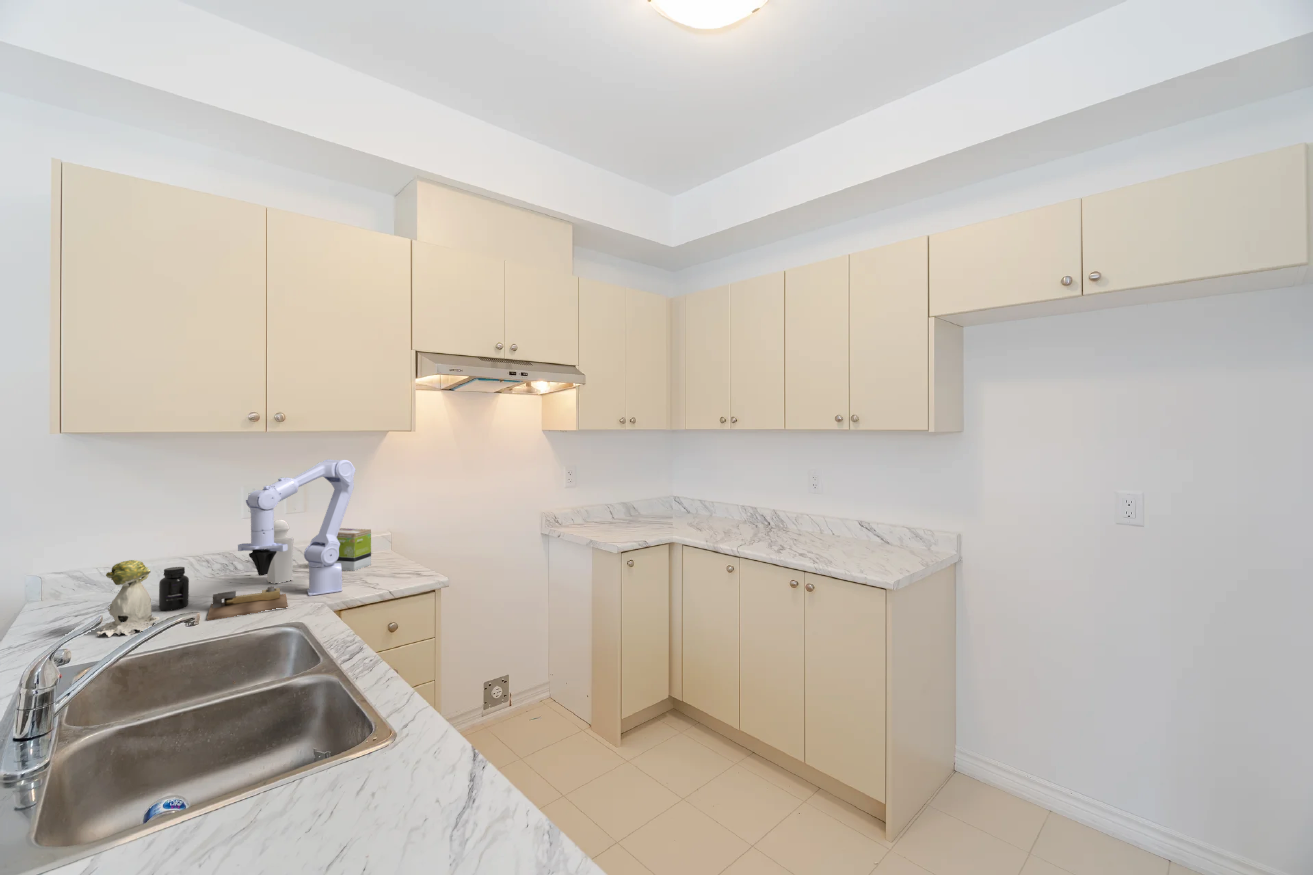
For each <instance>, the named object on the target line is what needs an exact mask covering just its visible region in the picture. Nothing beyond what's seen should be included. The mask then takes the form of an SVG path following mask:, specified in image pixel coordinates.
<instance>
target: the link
mask: <svg viewBox="0 0 1313 875" xmlns="http://www.w3.org/2000/svg"><path fill="white" fill-rule="evenodd" d="M280 594H281V587H277V588H276V587H274V591H270V592H268V589H262V590H261V592H256V593H248V594H243V595H242V594H239V595H236V596H235V597H234V598H226V599H223V602H224V605H231V604H236V603H244V602H251V601H259V600H262V601H263V600H273V599H278V598H280Z"/></svg>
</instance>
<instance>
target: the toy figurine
mask: <svg viewBox="0 0 1313 875" xmlns="http://www.w3.org/2000/svg"><path fill="white" fill-rule="evenodd" d="M150 573H151V569H149V567H147V566H146V565H145V564H144V563H143V561H142V560H141V561H140V560H137V559H134V560H133V559H129V560H125V561H120V562H118V563H116V564H114V565H113V566H112V567H111V571H110V572H109V571H108V572H106V574H105V577H106V578H108V579H111V581H113V583H114V585H116V586H122V587H121V588H120V590H118V591H117V592H115V591H114V593H117V595H116V596H115V597H114V599H113V600H112V602H111V603H110V604H109V605H108V606H107V611H108V612H109V613H108V614H109V615H110V616H112V618H113V619H114V621H110V622H106V623H104V625H101V627H100V630H101V631H96V634H97V637H100V636H101V635H103V634H106V636H107V637H108V638H111V636H112V635H113V634H117V635H118V636H120V635H121V634H124V635H125V636H131V635H133V634H135V633H136V631H135V630H137V631H139V632H140V633H142V632H141V631H143V630H144V629H145V628H148V627H149V626H152V625H153V624H154V623H155V622H156V621H159V620H160V617H159V616H153V614H152V604H151V603H152V602H151V601H152V597H151V595H150V593H149V591H148V590H147V589H146V588H145V586H144V585H143V583H142V582H143V581H145V580H146V579H147V578H148V577H149V574H150ZM152 627H153V626H152Z"/></svg>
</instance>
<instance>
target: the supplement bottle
mask: <svg viewBox="0 0 1313 875" xmlns="http://www.w3.org/2000/svg"><path fill="white" fill-rule="evenodd" d="M185 570H186V569H185V566H172V567H166V568H164V569H163V576H164V577H163V578H161V579H160V580H159V583H158V589H159V590H158V609H159V610H160V611H162V612H170V611H177V610H181V609H185V608H186V607H188V606H189V602H190V601H189V600H190V599H189V597H190V594H189V593H190V579H189V577H188V576H187V575H185V574H186V572H185Z"/></svg>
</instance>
